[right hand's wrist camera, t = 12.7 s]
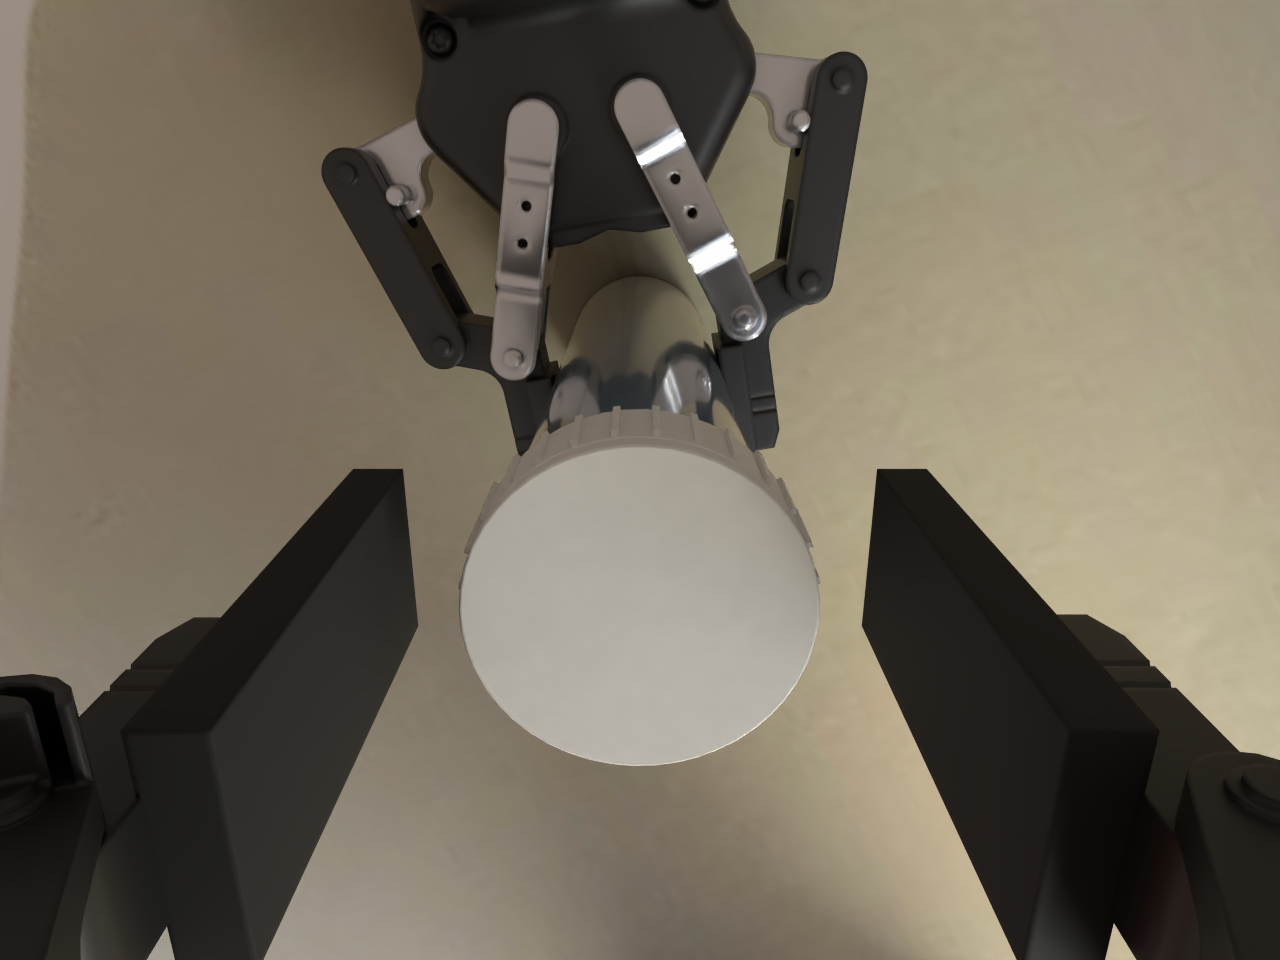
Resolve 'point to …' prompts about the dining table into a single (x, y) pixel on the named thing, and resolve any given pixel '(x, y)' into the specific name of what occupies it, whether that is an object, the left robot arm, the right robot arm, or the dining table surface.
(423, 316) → the left robot arm
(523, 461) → the lid
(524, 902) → the dining table surface
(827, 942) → the dining table surface
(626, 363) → the jar
